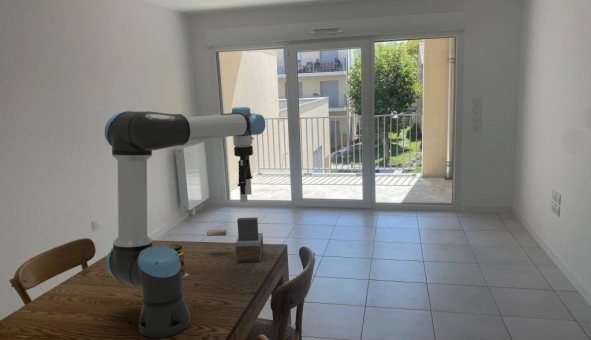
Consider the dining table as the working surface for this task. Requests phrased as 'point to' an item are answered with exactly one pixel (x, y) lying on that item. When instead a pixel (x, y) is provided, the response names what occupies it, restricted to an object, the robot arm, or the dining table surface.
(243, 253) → the open wooden box
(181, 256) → the condiment
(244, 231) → the grey slotted stand
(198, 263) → the dining table surface
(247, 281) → the dining table surface
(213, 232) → the key
